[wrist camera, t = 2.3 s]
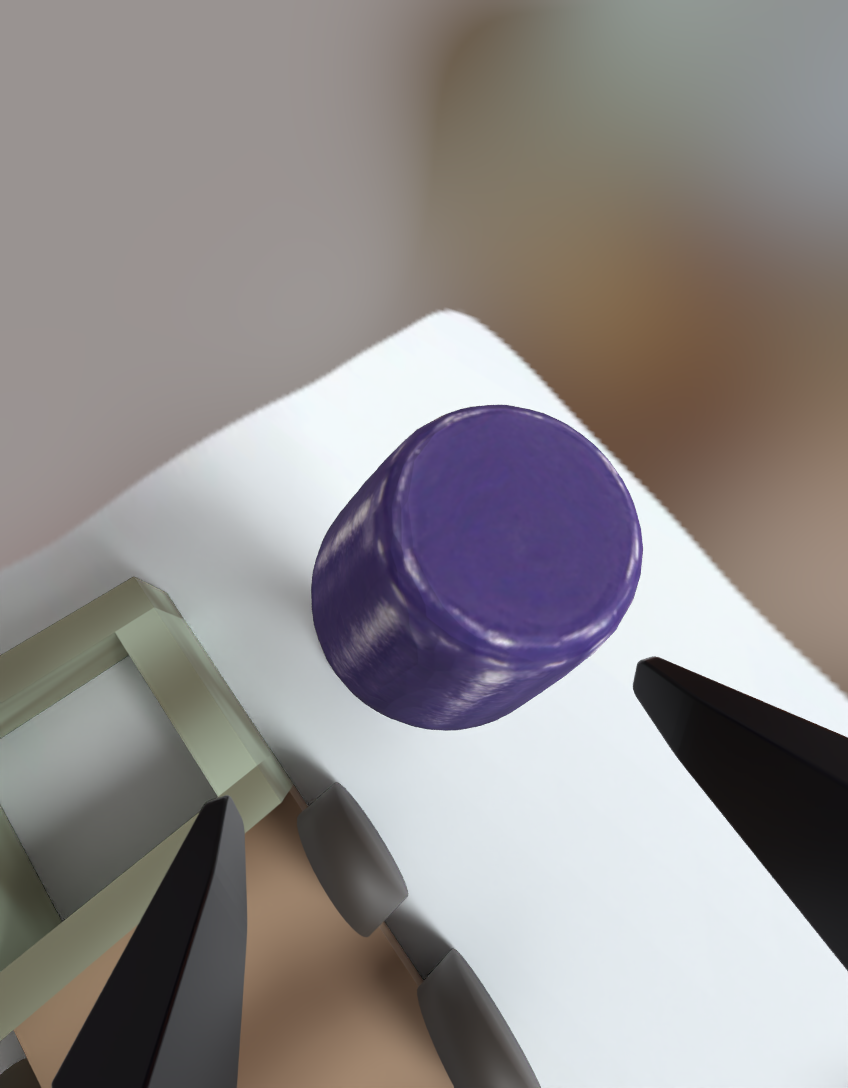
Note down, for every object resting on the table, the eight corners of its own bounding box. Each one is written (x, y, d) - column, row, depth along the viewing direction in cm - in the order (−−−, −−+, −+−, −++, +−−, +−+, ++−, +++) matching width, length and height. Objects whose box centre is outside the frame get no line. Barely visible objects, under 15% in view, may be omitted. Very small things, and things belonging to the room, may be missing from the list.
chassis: (515, 1032, 16) (569, 1149, 12) (183, 1459, 12) (93, 1859, 8) (199, 572, 20) (158, 541, 16) (-138, 781, 16) (-314, 813, 12)
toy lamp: (437, 601, 21) (671, 343, 5) (442, 702, 20) (783, 753, 4) (337, 601, 20) (273, 305, 5) (334, 706, 19) (222, 789, 3)
